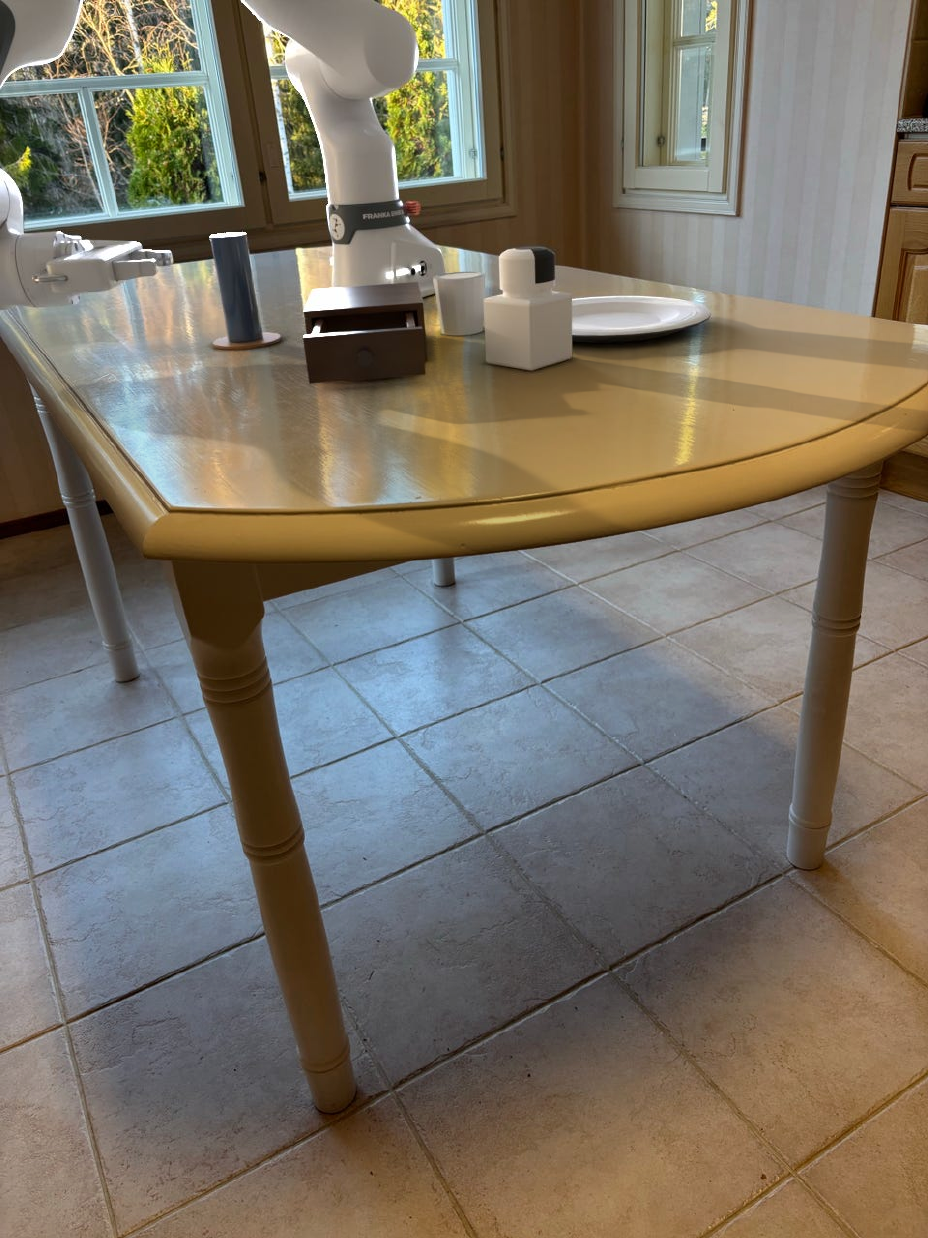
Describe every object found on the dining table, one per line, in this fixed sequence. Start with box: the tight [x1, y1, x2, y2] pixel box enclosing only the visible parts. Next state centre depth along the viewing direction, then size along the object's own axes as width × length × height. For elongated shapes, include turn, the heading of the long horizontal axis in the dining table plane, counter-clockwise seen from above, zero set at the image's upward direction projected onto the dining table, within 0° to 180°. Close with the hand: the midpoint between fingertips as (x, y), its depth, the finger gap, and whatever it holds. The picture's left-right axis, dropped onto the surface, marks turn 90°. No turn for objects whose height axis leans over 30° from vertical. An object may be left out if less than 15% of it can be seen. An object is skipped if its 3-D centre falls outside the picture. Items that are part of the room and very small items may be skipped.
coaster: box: [212, 331, 282, 351], centre depth 120 cm, size 9×9×1 cm
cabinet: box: [302, 282, 428, 362], centre depth 110 cm, size 16×14×7 cm
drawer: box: [302, 311, 427, 384], centre depth 100 cm, size 16×12×5 cm
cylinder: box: [209, 232, 263, 343], centre depth 117 cm, size 5×5×13 cm
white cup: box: [433, 271, 486, 336], centre depth 117 cm, size 7×7×7 cm
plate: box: [572, 295, 712, 344], centre depth 115 cm, size 25×25×2 cm
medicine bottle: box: [483, 246, 573, 372], centre depth 99 cm, size 7×7×12 cm
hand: (164, 262), depth 115 cm, fingers open, 8 cm apart
